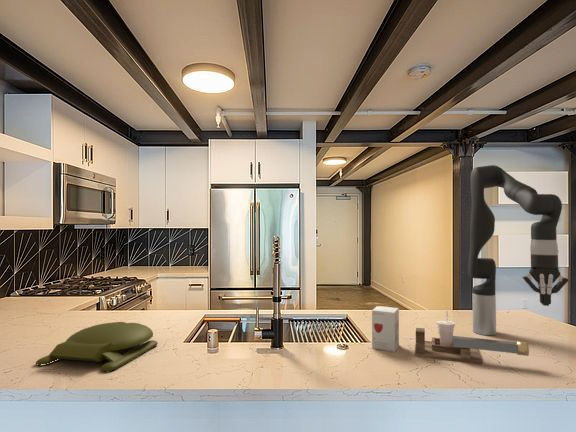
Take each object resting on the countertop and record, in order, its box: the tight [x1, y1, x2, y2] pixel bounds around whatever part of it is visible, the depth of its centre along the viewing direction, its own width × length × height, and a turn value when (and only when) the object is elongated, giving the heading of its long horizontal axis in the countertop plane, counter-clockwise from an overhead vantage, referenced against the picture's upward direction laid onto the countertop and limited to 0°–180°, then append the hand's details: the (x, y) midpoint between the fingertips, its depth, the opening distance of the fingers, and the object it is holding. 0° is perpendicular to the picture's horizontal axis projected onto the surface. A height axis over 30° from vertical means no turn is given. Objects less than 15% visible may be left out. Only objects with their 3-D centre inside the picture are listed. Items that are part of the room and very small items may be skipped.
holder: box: [414, 327, 483, 365], centre depth 135 cm, size 17×22×9 cm
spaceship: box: [35, 321, 158, 372], centre depth 136 cm, size 35×31×10 cm
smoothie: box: [436, 310, 456, 346], centre depth 137 cm, size 6×6×14 cm
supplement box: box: [371, 305, 400, 352], centre depth 142 cm, size 9×9×15 cm
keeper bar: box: [452, 335, 530, 357], centre depth 125 cm, size 4×23×4 cm, turn 68°
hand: (545, 305), depth 119 cm, fingers closed
